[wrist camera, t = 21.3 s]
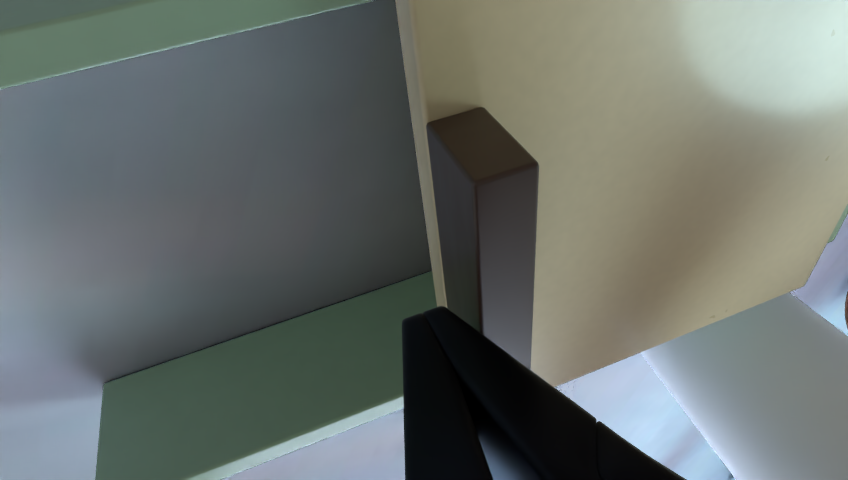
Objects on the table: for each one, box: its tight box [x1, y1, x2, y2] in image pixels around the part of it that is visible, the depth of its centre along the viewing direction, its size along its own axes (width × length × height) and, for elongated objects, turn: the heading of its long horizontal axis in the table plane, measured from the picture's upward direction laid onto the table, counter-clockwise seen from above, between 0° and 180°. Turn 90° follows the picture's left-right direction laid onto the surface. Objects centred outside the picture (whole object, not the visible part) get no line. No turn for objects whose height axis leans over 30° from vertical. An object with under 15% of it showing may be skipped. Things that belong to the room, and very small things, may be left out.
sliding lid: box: [395, 0, 848, 387], centre depth 11 cm, size 11×11×3 cm
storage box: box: [0, 0, 848, 480], centre depth 13 cm, size 23×11×4 cm, turn 96°
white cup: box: [640, 292, 848, 480], centre depth 21 cm, size 7×7×10 cm
